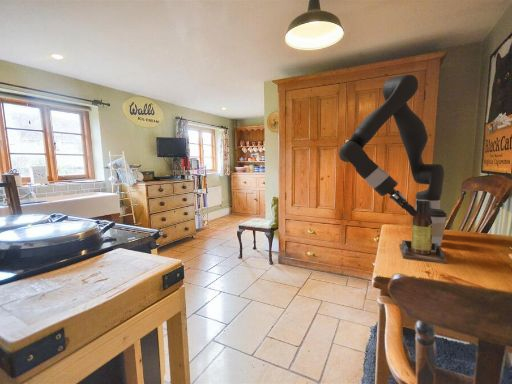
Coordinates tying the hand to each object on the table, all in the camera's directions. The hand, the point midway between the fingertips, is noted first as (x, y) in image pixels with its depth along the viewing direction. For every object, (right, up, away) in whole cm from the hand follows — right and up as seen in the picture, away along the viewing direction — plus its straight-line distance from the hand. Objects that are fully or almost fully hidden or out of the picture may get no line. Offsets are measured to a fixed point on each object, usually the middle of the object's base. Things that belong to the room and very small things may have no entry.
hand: (413, 212), depth 92 cm
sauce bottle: (+3, -15, +1) cm, 16 cm away
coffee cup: (+16, -15, +13) cm, 25 cm away
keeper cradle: (+3, -16, +1) cm, 17 cm away
